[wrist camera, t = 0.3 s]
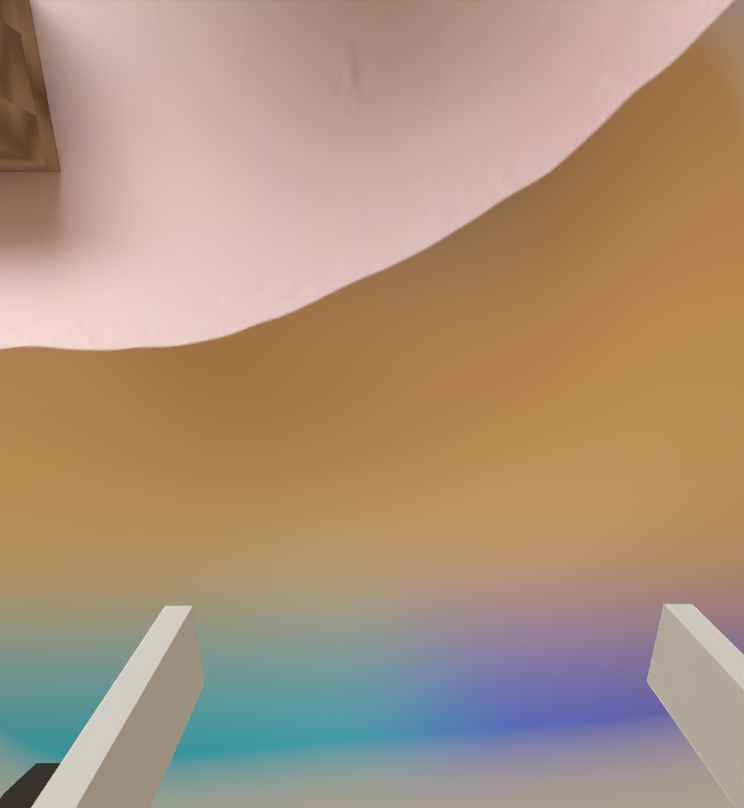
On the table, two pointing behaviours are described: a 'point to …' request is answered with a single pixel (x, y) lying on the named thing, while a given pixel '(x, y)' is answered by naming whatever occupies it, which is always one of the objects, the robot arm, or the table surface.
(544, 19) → the table surface
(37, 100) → the socket block
